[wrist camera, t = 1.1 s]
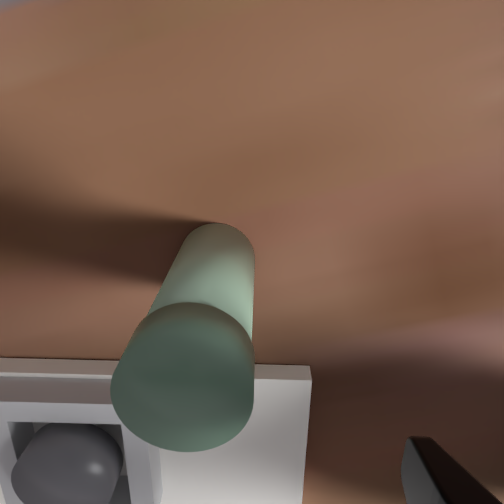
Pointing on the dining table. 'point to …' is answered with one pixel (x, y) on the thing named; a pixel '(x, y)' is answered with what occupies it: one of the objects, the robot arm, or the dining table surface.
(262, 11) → the dining table surface
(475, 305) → the dining table surface
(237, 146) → the dining table surface
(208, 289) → the cylinder
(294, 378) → the board
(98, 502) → the button
